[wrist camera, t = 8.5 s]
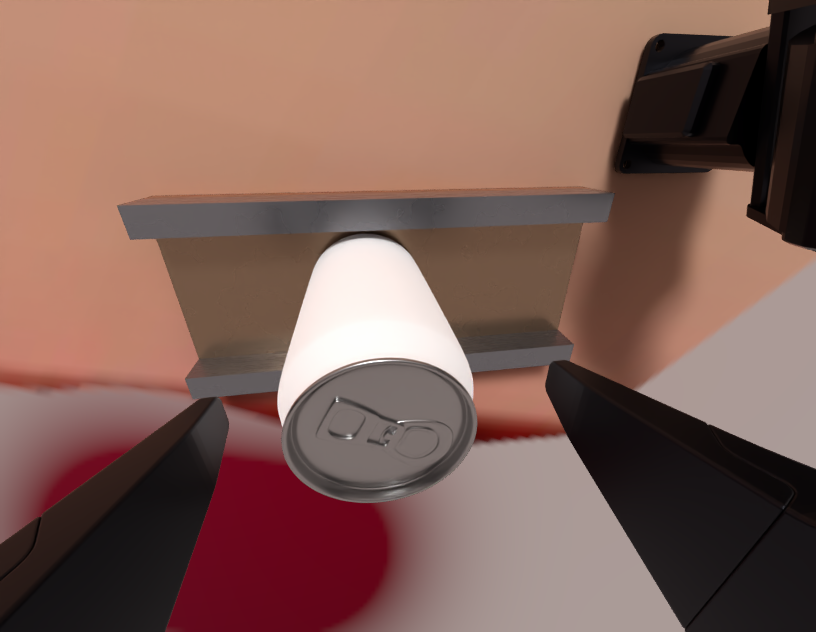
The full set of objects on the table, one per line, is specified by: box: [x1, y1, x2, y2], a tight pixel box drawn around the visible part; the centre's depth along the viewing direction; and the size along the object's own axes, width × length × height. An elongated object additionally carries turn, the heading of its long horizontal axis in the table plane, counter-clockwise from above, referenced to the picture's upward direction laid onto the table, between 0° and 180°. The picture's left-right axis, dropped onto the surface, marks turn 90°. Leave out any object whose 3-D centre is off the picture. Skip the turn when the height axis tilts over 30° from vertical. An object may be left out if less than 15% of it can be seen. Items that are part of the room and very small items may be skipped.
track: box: [117, 187, 615, 399], centre depth 20 cm, size 24×11×3 cm, turn 90°
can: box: [278, 234, 477, 503], centre depth 15 cm, size 6×6×12 cm
